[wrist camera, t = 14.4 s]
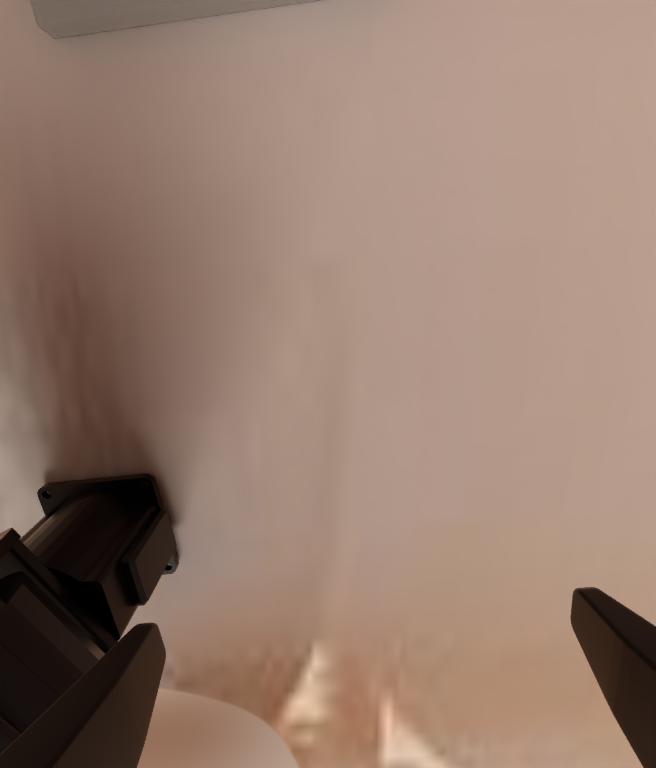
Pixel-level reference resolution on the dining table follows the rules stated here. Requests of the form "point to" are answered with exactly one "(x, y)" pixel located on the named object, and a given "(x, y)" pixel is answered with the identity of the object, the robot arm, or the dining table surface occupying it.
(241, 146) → the dining table surface
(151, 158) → the dining table surface
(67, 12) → the housing
